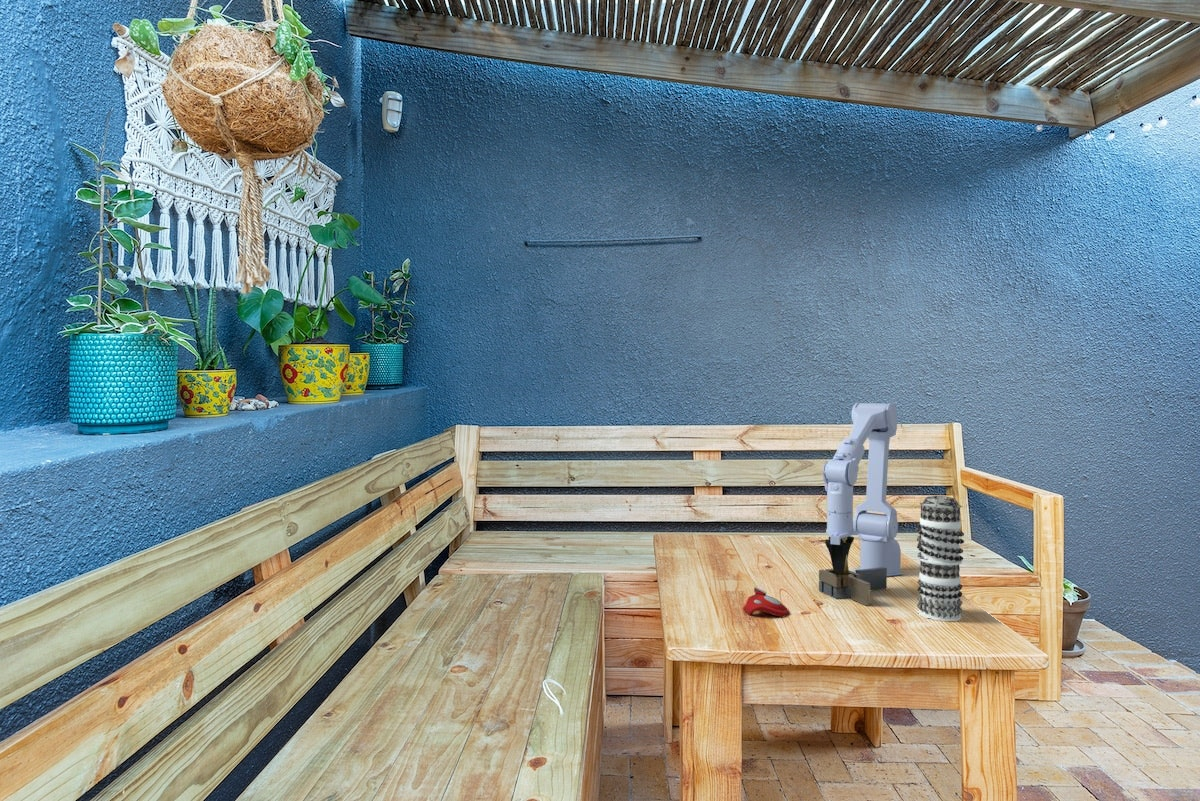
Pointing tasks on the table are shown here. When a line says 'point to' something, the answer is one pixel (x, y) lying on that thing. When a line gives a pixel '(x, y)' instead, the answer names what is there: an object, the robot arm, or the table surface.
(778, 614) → the tracker holder
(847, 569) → the hinge pin
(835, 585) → the swing leaf
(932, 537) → the decorative candle
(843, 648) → the table surface
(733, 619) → the table surface
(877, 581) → the fixed leaf
